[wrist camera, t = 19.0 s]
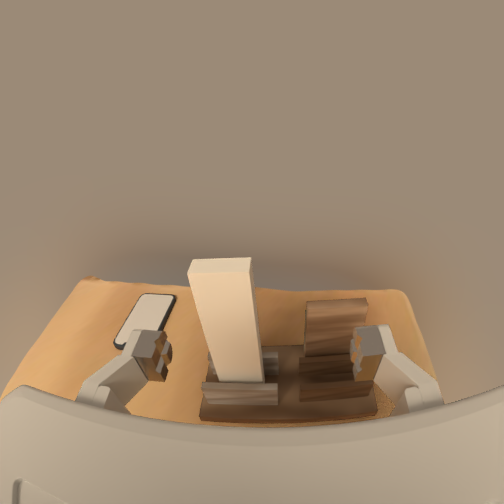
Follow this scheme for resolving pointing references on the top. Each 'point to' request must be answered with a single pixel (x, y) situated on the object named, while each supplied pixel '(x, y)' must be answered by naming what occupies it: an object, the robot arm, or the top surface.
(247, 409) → the rack
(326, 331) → the block
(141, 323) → the smartphone
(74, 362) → the top surface
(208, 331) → the cream rectangular board
